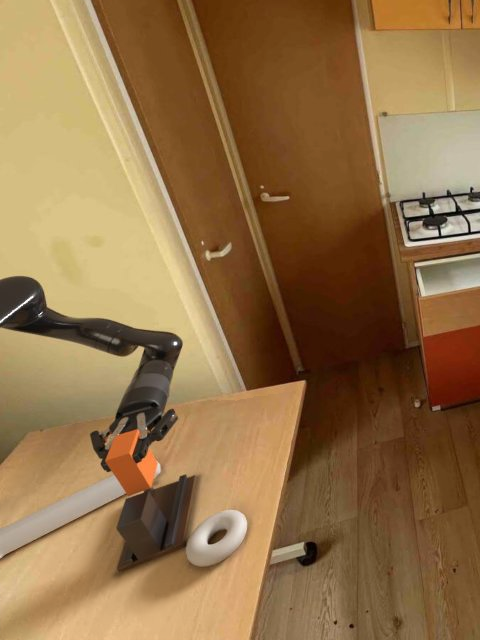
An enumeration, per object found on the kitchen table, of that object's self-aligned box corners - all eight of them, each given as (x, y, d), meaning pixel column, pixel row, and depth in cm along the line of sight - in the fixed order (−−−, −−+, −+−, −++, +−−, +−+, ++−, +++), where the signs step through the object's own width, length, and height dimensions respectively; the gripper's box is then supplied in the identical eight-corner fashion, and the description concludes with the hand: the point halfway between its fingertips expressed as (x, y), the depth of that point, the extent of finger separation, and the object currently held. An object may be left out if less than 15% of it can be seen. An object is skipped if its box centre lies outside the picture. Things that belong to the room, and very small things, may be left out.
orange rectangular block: (128, 496, 79) (104, 461, 74) (136, 470, 84) (114, 435, 79) (151, 488, 80) (129, 453, 76) (157, 463, 85) (138, 428, 81)
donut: (189, 583, 76) (252, 548, 81) (182, 572, 74) (246, 538, 79) (189, 535, 83) (247, 506, 88) (183, 524, 81) (242, 496, 86)
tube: (155, 449, 96) (-9, 526, 80) (155, 458, 92) (-17, 541, 76) (164, 469, 97) (4, 549, 81) (165, 479, 93) (-3, 565, 77)
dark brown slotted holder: (119, 573, 77) (91, 537, 72) (141, 497, 90) (119, 462, 85) (184, 546, 81) (163, 511, 76) (197, 478, 94) (179, 443, 89)
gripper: (94, 398, 85) (60, 466, 72) (179, 375, 91) (162, 435, 77) (110, 424, 89) (81, 494, 75) (191, 401, 94) (177, 462, 81)
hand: (122, 463), depth 76 cm, fingers closed on orange rectangular block, 3 cm apart
